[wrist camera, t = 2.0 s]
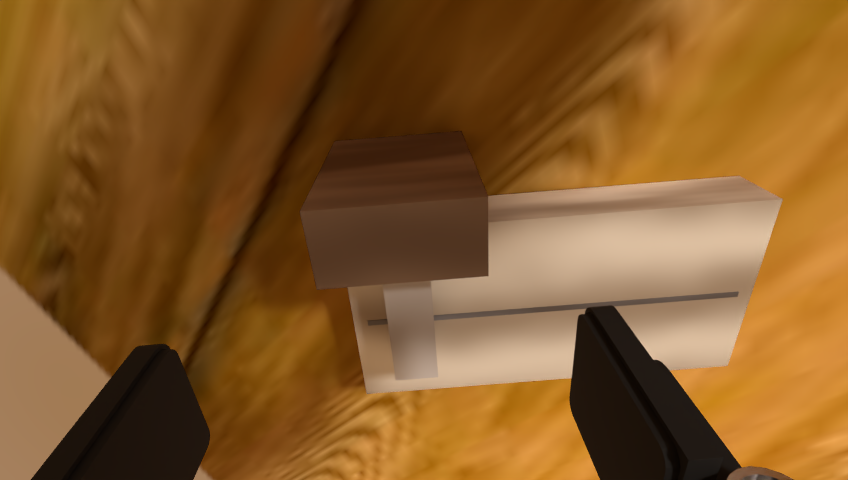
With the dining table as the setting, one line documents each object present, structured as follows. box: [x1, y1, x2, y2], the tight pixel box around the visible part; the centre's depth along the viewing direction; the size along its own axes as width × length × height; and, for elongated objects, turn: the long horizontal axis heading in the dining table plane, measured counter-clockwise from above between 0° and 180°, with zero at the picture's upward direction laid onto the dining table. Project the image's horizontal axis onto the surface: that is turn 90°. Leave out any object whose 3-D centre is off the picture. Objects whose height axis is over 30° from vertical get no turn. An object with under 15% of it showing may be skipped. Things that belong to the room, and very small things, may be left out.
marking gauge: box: [300, 131, 489, 380], centre depth 20 cm, size 10×6×8 cm, turn 4°
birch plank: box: [347, 176, 783, 394], centre depth 24 cm, size 10×20×3 cm, turn 94°
